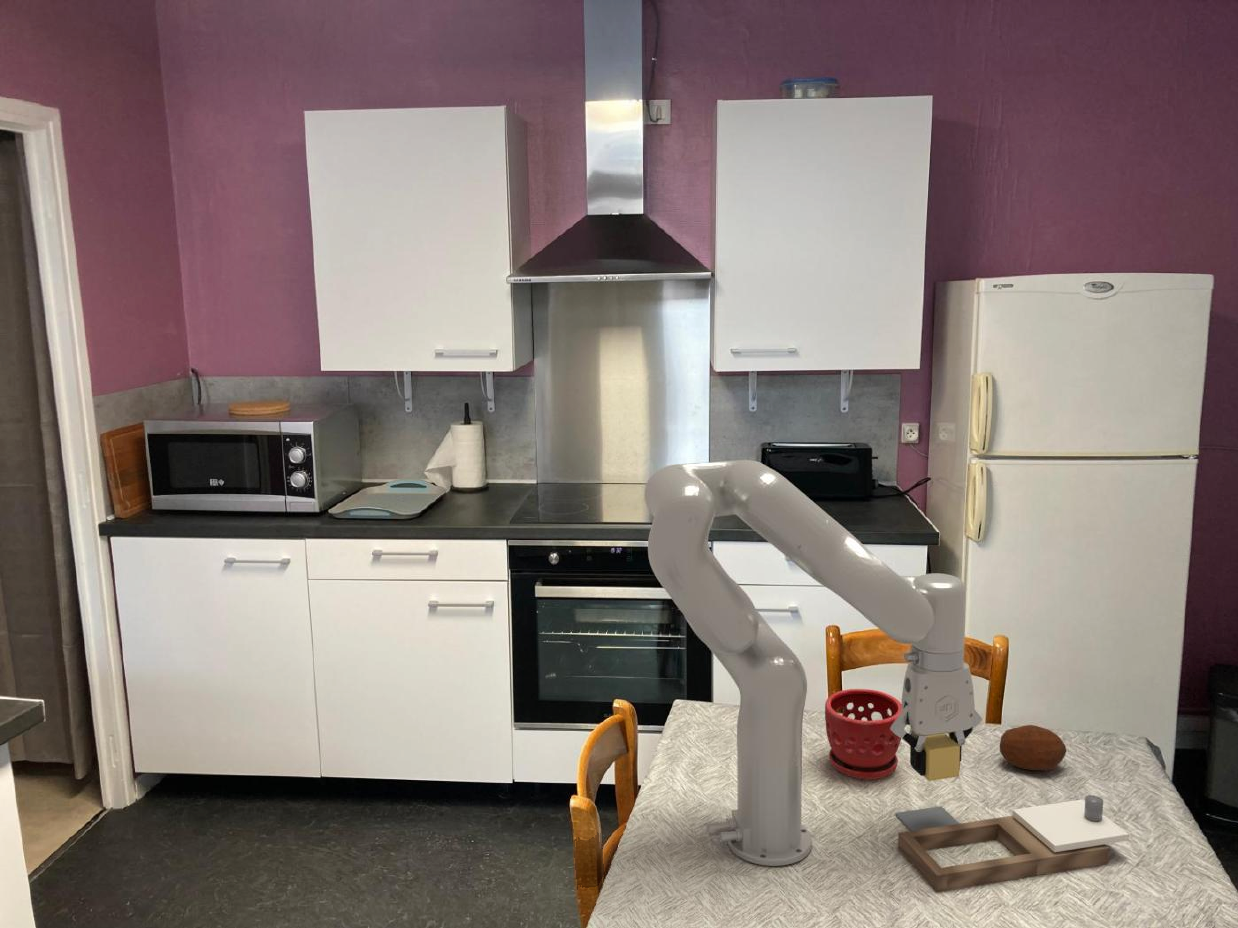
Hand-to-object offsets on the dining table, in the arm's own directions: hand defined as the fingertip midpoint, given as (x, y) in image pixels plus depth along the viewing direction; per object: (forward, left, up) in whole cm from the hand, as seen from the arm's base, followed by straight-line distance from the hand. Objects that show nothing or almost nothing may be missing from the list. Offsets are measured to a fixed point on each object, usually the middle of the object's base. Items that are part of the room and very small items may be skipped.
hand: (935, 767), depth 149 cm
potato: (+26, +13, -10) cm, 30 cm away
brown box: (+5, -10, -10) cm, 15 cm away
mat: (0, 0, -10) cm, 10 cm away
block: (0, 0, -1) cm, 1 cm away
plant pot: (-2, +20, -10) cm, 22 cm away
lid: (+16, -10, -7) cm, 20 cm away
